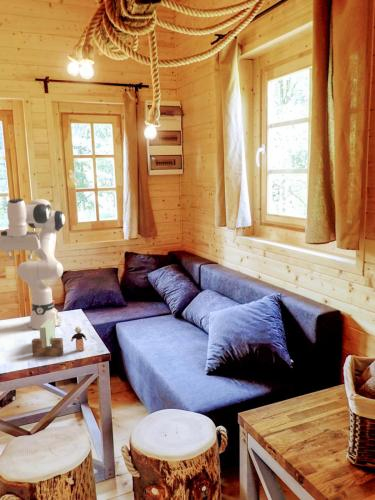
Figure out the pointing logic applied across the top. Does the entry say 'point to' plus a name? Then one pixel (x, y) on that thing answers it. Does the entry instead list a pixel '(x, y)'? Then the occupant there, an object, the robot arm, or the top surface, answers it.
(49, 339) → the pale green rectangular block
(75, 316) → the top surface
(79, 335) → the grandmother figurine
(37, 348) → the wooden u-shaped block
